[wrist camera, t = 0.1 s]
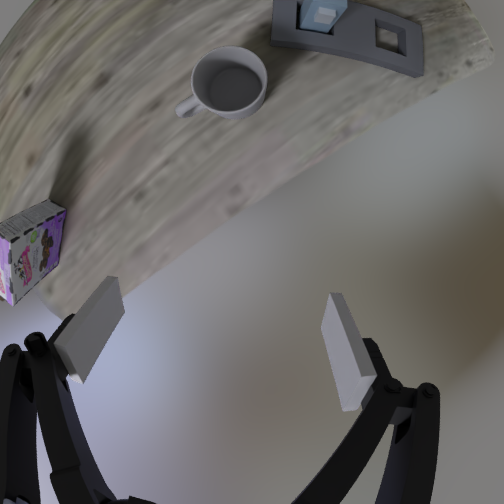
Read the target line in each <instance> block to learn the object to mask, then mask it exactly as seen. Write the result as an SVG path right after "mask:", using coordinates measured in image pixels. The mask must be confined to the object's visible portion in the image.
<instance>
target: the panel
mask: <svg viewBox="0 0 504 504" xmlns="http://www.w3.org/2000/svg"><path fill="white" fill-rule="evenodd" d="M303 1H304V0H273V14H272V29H271V43H270V46H277V47H287V48H295V49H303V50H310V51H316V52H322V53H327V54H332V55H337V56H342V57H346V58H351V59H355V60H359V61H363V62H367V63H370V64H374V65H377V66H381V67H384V68H387V69H390V70H393V71H396V72H399V73H402V74H405V75H408V76H411V77H413V78H416V77H420V76H423V42H422V28H421V25H419V24H416V23H414V22H412V21H409V20H407V19H404V18H402V17H399V16H397V15H394V14H391V13H389V12H386V11H383V10H380V9H377V8H374V7H371V6H367V5H364V4H360V3H357V2H353V1H349V0H347V9H346V10H345V11H344V12H343V14H342V15H341V16H340V17H339V19H338V20H337V21H336V22H335V24H334V25H333V26H332V27H331V29H330V30H329V35H327V34H322V33H316V32H310V31H304V30H296V9H301V6H302V4H303ZM375 26H376V27H379V28H383V29H386V30H388V31H391V32H394V33H397V34H398V54H397V53H394V52H391V51H388V50H385V49H382V48H379V47H376V43H375Z"/></svg>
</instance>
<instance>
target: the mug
mask: <svg viewBox="0 0 504 504" xmlns="http://www.w3.org/2000/svg"><path fill="white" fill-rule="evenodd" d="M267 82H268V76H267V70H266V67H265V65H264V63H263V62H262V60H261V59H260V58H259V57H258V56H257V55H256V54H255V53H253V52H252V51H250V50H248V49H246V48H243V47H239V46H223V47H219V48H216V49H213V50H211V51H209V52H208V53H206V54H205V55H204V56H202V57H201V58H200V60H199V61H198V62H197V63H196V65H195V67H194V69H193V72H192V75H191V88H192V91H193V95H191V96H190V97H188V98H186V99H185V100H183V101H182V102H180V103H179V104H178V105H177V106H176V108H175V111H176V114H177V115H178V116H179V117H181V118H188V117H191V116H193V115H195V114H197V113H199V112H201V111H203V110H205V109H208V110H210V111H212V112H214V113H216V114H218V115H220V116H222V117H224V118H227V119H242V118H246V117H248V116H250V115H252V114H254V113H255V112H256V111H257V110H258V109H259V108H260V107H261V105H262V103H263V101H264V98H265V93H266V88H267Z"/></svg>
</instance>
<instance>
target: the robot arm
mask: <svg viewBox="0 0 504 504" xmlns="http://www.w3.org/2000/svg"><path fill="white" fill-rule="evenodd" d="M124 313H125V310H124V306H123V301H122V297H121V292H120V287H119V282H118V277H113V276H107V277H106V278H105V280H104V281H103V282H102V283H101V284H100V285H99V287H98V288H97V289H96V290H95V291H94V292H93V294H92V295H91V296H90V297H89V298H88V300H87V301H86V302H85V303H84V305H83V306H82V307H81V308H80V309H79V311H78V312H77V313H76V314H73V313H72V314H71V315H69V316H68V317H66V318H65V319H64V321H63V322H62V323H61V325H60V326H59V327H58V329H57V330H56V331H55V332H54V333H53V335H52V336H51V337H50V339H49V340H48V341H46V339H45V336H44V334H43V333H41V332H33V333H31V334H29V335H28V336H27V337H26V338H25V340H24V344H25V346H26V348H27V350H28V351H22V350H21V348H20V346H19V345H18V344H10V345H8V346H7V347H6V348H5V349H4V351H3V353H2V357H1V360H0V504H41V503H40V502H41V500H40V489H39V480H38V469H37V450H36V423H37V413H38V418H39V423H40V427H41V432H42V436H43V440H44V443H45V447H46V451H47V454H48V458H49V461H50V464H51V467H52V473H51V474H50V479H51V483H52V486H53V489H54V491H55V494H56V496H57V499H58V501H59V504H156V503H154V502H151V501H147V500H143V499H139V498H136V497H132V496H129V499H120V500H117V499H116V497H115V496H114V494H113V493H112V491H111V490H110V489H109V488H108V486H107V485H106V483H105V481H104V479H103V477H102V475H101V473H100V471H99V469H98V467H97V464H96V462H95V460H94V457H93V455H92V453H91V450H90V448H89V446H88V443H87V440H86V438H85V435H84V433H83V430H82V427H81V424H80V421H79V418H78V415H77V412H76V409H75V406H74V403H73V399H72V396H71V392H70V389H69V385H68V382H67V380H66V377H67V375H68V374H69V375H70V377H71V379H72V380H73V381H75V382H78V383H82V384H84V382H85V380H86V378H87V376H88V374H89V373H90V371H91V369H92V367H93V365H94V364H95V362H96V360H97V358H98V357H99V355H100V353H101V351H102V350H103V348H104V346H105V344H106V343H107V341H108V339H109V338H110V336H111V334H112V332H113V331H114V329H115V327H116V326H117V324H118V322H119V321H120V319H121V317H122V316H123V314H124ZM321 330H322V334H323V337H324V340H325V344H326V348H327V352H328V356H329V359H330V363H331V367H332V371H333V375H334V378H335V382H336V386H337V390H338V394H339V398H340V402H341V406H342V411H352V410H357V409H358V407H359V406H360V404H361V405H362V409H363V410H362V412H361V413H360V415H359V416H358V418H357V419H356V421H355V423H354V424H353V426H352V427H351V429H350V430H349V432H348V433H347V435H346V436H345V438H344V439H343V441H342V442H341V443H340V445H339V446H338V448H337V449H336V450H335V452H334V453H333V454H332V456H331V457H330V458H329V460H328V461H327V462H326V464H325V465H324V466H323V467H322V469H321V470H320V471H319V472H318V473H317V475H316V476H315V477H314V478H313V480H312V481H311V482H310V483H309V484H308V485H307V486H306V488H305V489H304V490H303V491H302V492H301V493H300V494H299V496H298V497H297V498H296V499H295V500H294V501H293V502H292V503H291V504H340V502H341V501H342V500H343V498H344V497H345V496H346V494H347V493H348V491H349V490H350V488H351V487H352V486H353V484H354V483H355V481H356V480H357V478H358V477H359V475H360V474H361V472H362V471H363V469H364V467H365V466H366V464H367V462H368V461H369V459H370V457H371V456H372V454H373V452H374V451H375V449H376V447H377V445H378V444H379V442H380V440H381V438H382V436H383V434H384V432H385V430H386V428H387V427H388V424H394V431H393V436H392V441H391V446H390V450H389V455H388V459H387V463H386V467H385V471H384V475H383V478H382V482H381V485H380V489H379V492H378V495H377V498H376V501H375V504H430V501H431V496H432V490H433V485H434V479H435V472H436V464H437V455H438V443H439V428H440V427H439V426H440V392H439V390H438V388H437V387H436V386H435V385H434V384H431V383H422V384H421V385H420V386H419V387H418V388H417V389H414V388H407V387H403V385H402V384H401V382H400V381H398V380H397V379H394V378H392V376H391V374H390V372H389V370H388V367H387V365H386V363H385V360H384V358H383V356H382V354H381V352H380V350H379V347H378V345H377V344H376V343H375V342H374V341H373V340H372V339H371V338H361V335H360V333H359V331H358V328H357V326H356V324H355V321H354V319H353V317H352V315H351V312H350V310H349V308H348V306H347V304H346V301H345V300H344V297H343V295H342V293H330V294H329V298H328V302H327V306H326V310H325V314H324V318H323V322H322V325H321Z"/></svg>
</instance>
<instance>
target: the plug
mask: <svg viewBox="0 0 504 504" xmlns="http://www.w3.org/2000/svg"><path fill="white" fill-rule="evenodd" d="M346 9H347V0H304V1H303V4H302V6H301V9H300V11H299V25H298V30H304V31H310V32H316V33H322V34H327V33H328V31H329V30H330V29H331V27H332V26H333V25H334V24H335V22H336V21H337V20H338V19H339V17H340V16H341V15H342V14H343V12H344V11H345V10H346Z"/></svg>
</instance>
